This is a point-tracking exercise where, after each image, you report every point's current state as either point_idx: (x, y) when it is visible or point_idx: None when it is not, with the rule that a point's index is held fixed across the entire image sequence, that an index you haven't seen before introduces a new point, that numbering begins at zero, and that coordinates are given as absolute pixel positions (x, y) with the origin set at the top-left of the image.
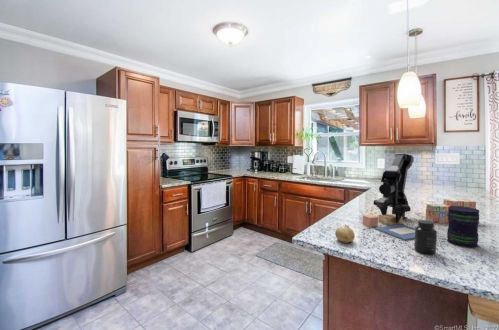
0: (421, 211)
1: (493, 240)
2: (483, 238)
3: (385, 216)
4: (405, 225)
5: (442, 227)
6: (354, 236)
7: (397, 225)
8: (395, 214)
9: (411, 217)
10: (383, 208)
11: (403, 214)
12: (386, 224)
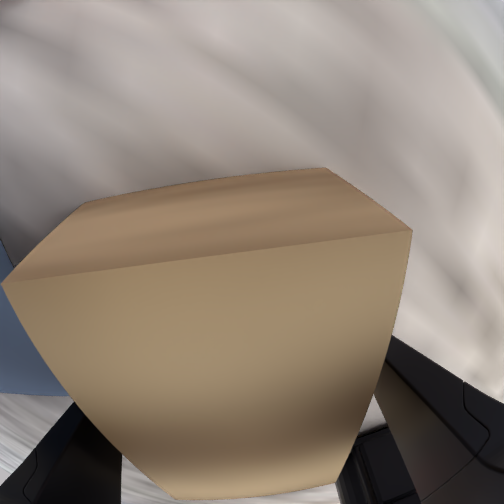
0: None
1: (8, 472)
2: None
3: (191, 354)
4: (39, 391)
5: None
6: None
7: (2, 313)
8: (373, 467)
9: (334, 485)
10: (472, 500)
11: (338, 494)
12: (91, 203)
